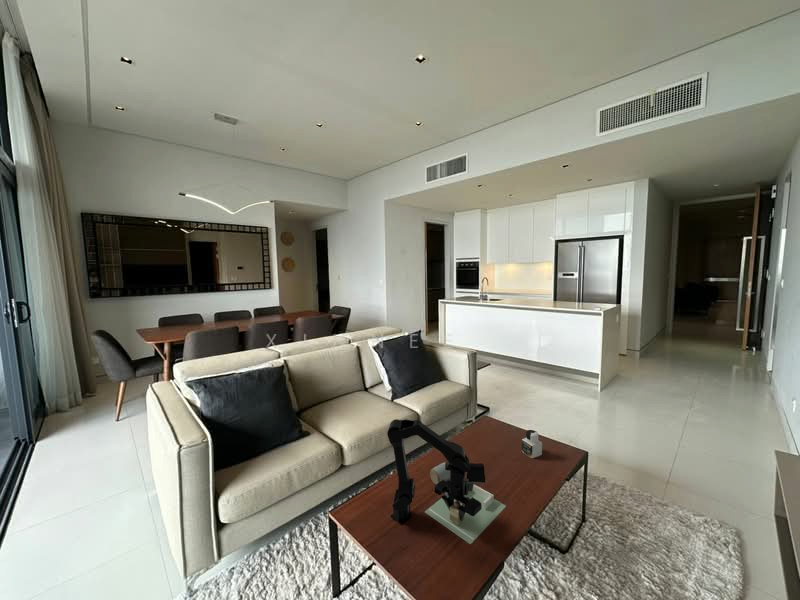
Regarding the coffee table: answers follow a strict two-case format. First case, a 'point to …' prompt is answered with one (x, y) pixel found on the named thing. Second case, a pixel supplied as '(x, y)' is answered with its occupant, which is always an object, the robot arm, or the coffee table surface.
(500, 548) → the coffee table surface
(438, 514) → the pitch mat
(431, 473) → the ceramic mug
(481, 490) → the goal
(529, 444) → the medicine bottle
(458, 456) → the robot arm
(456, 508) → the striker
